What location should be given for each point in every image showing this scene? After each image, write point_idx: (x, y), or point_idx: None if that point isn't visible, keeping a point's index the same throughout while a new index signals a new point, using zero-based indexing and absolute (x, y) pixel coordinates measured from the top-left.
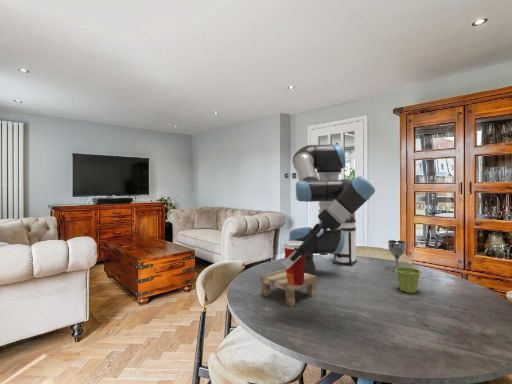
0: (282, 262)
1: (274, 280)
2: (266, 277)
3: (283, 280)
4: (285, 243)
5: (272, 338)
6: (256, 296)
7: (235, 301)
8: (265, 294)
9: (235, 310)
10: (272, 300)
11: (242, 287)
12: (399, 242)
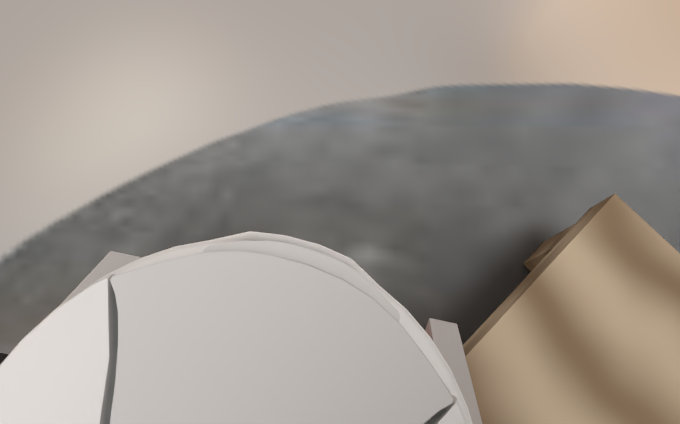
0: (127, 260)
1: (528, 287)
2: (587, 232)
3: (531, 358)
4: (191, 256)
5: (20, 265)
6: (527, 210)
7: (452, 104)
8: (532, 256)
9: (343, 105)
10: (476, 298)
11: (650, 139)
12: None
